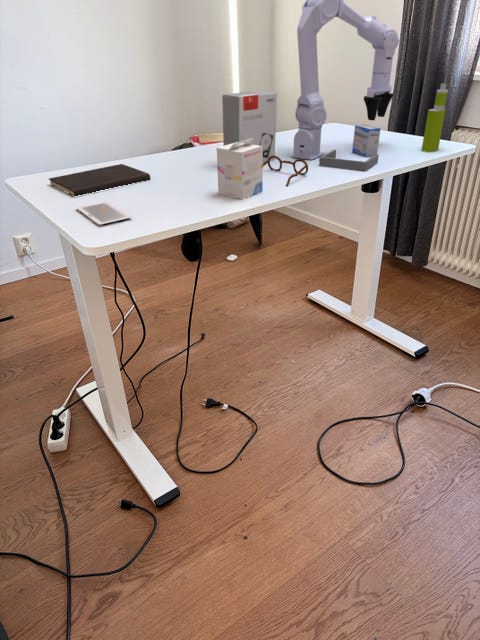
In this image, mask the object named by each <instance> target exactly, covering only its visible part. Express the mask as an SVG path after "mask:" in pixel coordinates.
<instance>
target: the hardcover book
mask: <svg viewBox="0 0 480 640" xmlns="http://www.w3.org/2000/svg"><path fill="white" fill-rule="evenodd" d="M147 180H148V181H151V180H152V179H151V174H150V173H149V172H146V171H142V170H140V169H137V168H134V167H132V166H129V165H126V164H124V163H119V164H115V165H114V164H113V165H110V166H105V167H100V168H94V169H90V170H83V171H79V172H74V173H70V174H65V175H64V174H63V175H59V176H55V177H54V176H53V177H49V178H48V181H50V185H51V184H52V185H54V186H56V187H58V188H60V189H62V190H64V191H66V192H68V193H70V194H72V195H74V196H78V195H83V194H87V193H92V192H96V191H100V190H105V189H109V188H114V187H118V186H122V187H124V186H123V185H127V186H129V185H128V184H131V185H133V184H132V183H135V184H138V183H137V182H140V183H142V182H141V181H144V182H148V181H147ZM52 185H51V186H52ZM54 186H53V187H54ZM56 187H55V188H56ZM58 188H57V189H58ZM118 188H119V187H118ZM60 189H59V190H60ZM114 189H115V188H114ZM62 190H61V191H62ZM109 190H110V189H109ZM64 191H63V192H64ZM105 191H106V190H105ZM66 192H65V193H66ZM68 193H67V194H68ZM96 193H97V192H96ZM70 194H69V195H70ZM92 194H93V193H92ZM72 195H71V196H72ZM74 196H73V197H74ZM83 196H84V195H83Z"/></svg>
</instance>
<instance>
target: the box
mask: <svg viewBox="0 0 480 640" xmlns="http://www.w3.org/2000/svg"><path fill="white" fill-rule="evenodd" d="M336 154H337V149H333V150H330V151H328V152H327V153H324V154H323V155H321V156H319V160H318V161H319V163H318V166H320V167H321V166H322V167H328V168H335V169H343V170H349V171H350V170H352V171H359V172H367V171H368V170H370V169H371V168H372V167H374V166H375V165H377V164H378V162H379V156H380V154H378V153H377V154H376V155H374V156H373V157H369V159H367V160H366V161H363V160H362V161H361V160H353V159H351V160H350V159H345V158H343V159H342V158H338V157H337V158H336V156H337V155H336Z"/></svg>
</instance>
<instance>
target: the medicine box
mask: <svg viewBox="0 0 480 640" xmlns="http://www.w3.org/2000/svg"><path fill="white" fill-rule="evenodd" d="M380 136H381V127H380V128H379V127H378V126H373V125H369V124H355V125H354V132H353V141H352V148H351V149H352V150H351V152H352V153H353V154H356V155H359V156H361V157H365V158H371V157H373V156H374V155H376V154H378V151H379V145H380V144H379V143H380Z"/></svg>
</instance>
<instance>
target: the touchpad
mask: <svg viewBox="0 0 480 640" xmlns="http://www.w3.org/2000/svg"><path fill="white" fill-rule="evenodd" d="M75 209H77V210H79V211H80V212H81V213H83V214H84V215H85V216H87V217H88V218H89V219H91V220H92V221H93V222H95V223H96V224H98V225H104V224H109V223H113V222H118V221H122V220H127V219H130V218H132V216H131V215H130V214H129V213H126V212H124V211H123V210H121V209H120V208H118V207H117V206H115V205H113V204H112V203H110V202H109V201H107V200H104V201H103V200H102V201H98V202H94V203H89V204H84V205H79V206H75Z"/></svg>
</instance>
